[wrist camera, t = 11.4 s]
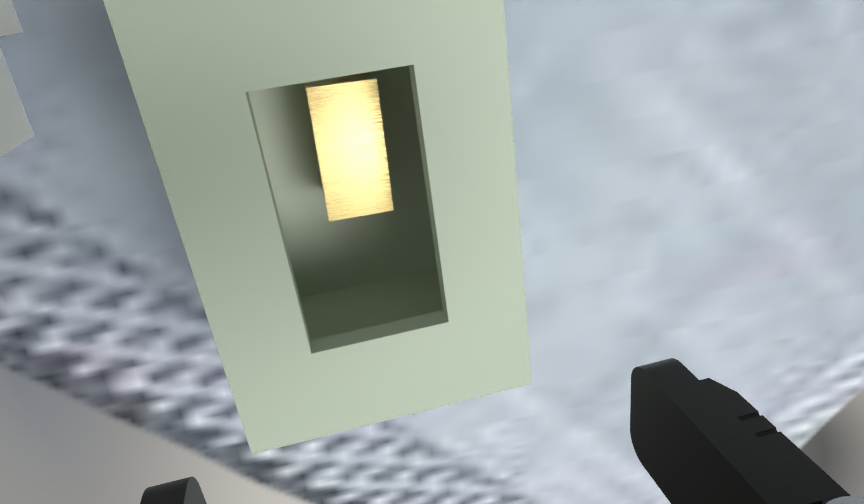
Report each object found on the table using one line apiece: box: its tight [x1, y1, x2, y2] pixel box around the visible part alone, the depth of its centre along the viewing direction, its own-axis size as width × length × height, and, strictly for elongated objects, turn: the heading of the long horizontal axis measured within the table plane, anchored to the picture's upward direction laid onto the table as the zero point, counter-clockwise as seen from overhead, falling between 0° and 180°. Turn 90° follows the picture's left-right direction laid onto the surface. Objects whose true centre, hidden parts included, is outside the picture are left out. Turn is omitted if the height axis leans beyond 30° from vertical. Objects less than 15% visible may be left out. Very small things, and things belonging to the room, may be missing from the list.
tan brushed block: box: [304, 72, 394, 221], centre depth 29 cm, size 5×3×6 cm
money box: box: [103, 0, 532, 454], centre depth 27 cm, size 18×12×12 cm, turn 7°
